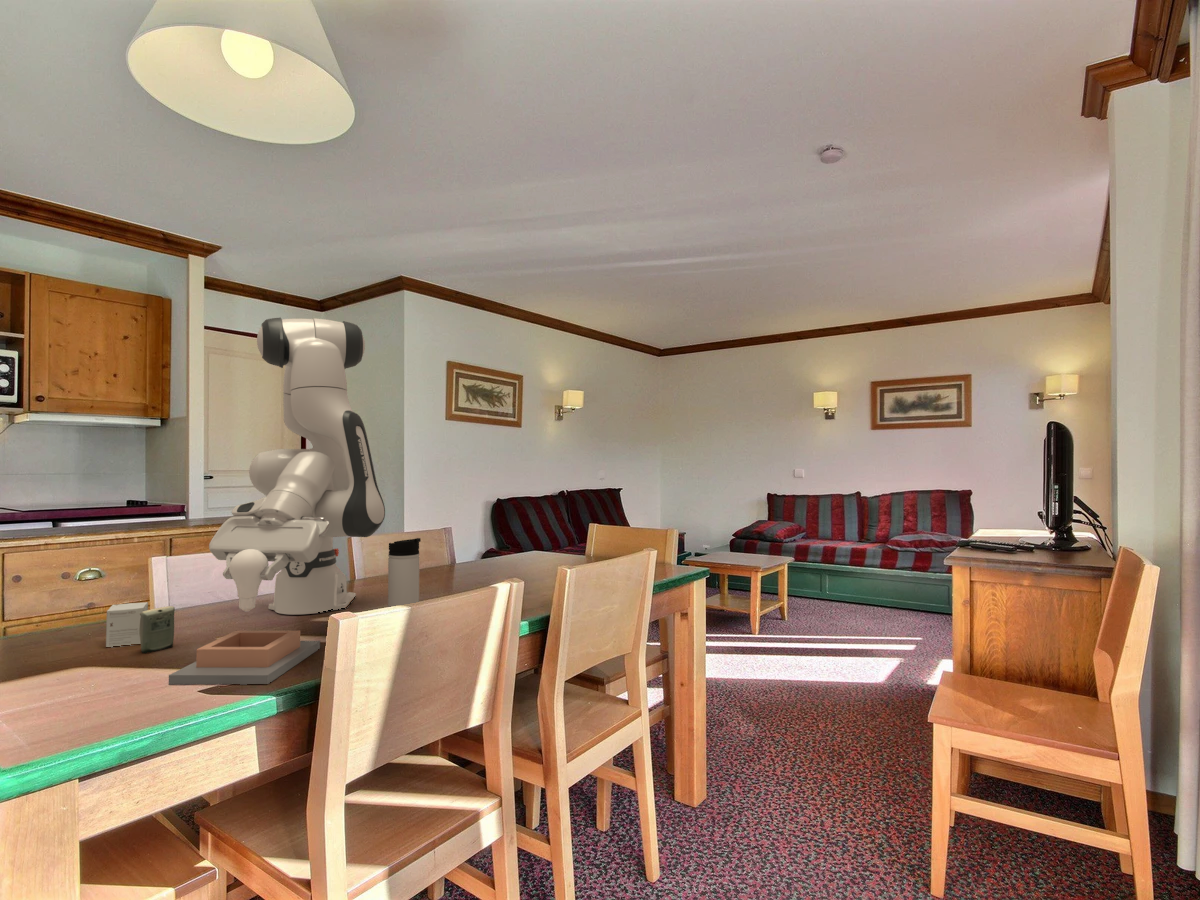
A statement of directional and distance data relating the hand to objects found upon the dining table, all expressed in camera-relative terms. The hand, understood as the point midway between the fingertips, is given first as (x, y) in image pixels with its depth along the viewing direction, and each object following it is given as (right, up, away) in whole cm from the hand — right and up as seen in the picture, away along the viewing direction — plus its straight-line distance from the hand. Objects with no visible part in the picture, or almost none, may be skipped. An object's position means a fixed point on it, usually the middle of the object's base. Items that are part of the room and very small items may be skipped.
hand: (246, 577), depth 114 cm
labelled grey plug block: (-23, -16, +10) cm, 30 cm away
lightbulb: (0, -6, 0) cm, 6 cm away
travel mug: (+21, -16, +22) cm, 35 cm away
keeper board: (0, -16, +1) cm, 16 cm away
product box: (-32, -16, +15) cm, 39 cm away
